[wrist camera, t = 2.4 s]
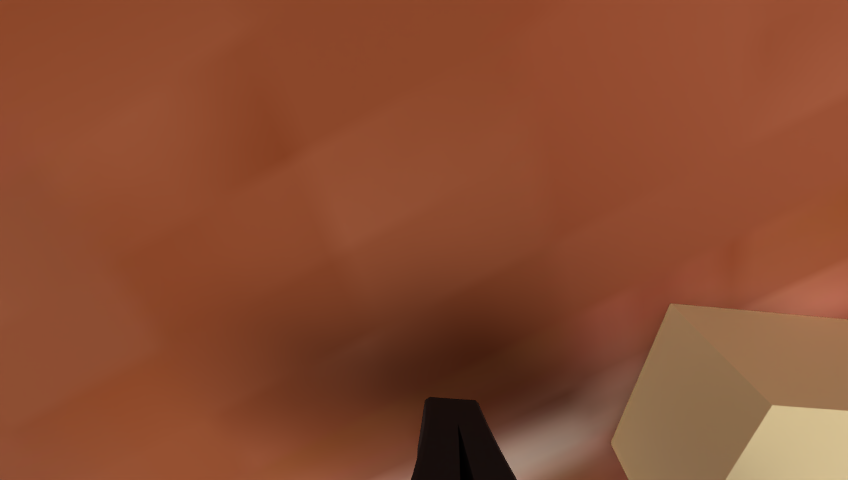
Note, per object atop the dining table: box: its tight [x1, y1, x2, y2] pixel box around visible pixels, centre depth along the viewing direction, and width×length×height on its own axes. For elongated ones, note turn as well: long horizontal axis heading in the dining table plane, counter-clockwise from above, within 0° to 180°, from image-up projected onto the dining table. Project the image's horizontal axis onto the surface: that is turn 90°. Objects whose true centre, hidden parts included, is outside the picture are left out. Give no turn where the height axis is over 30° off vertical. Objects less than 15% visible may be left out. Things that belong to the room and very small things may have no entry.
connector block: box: [611, 303, 848, 480], centre depth 12 cm, size 6×9×4 cm
